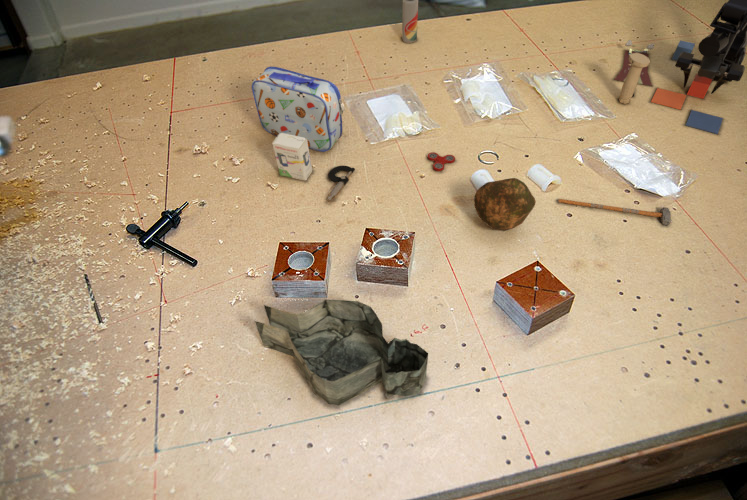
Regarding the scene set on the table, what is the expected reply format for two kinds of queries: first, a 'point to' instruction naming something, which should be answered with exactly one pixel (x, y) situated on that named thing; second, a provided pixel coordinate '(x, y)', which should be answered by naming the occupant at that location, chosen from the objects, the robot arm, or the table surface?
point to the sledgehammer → (627, 210)
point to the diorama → (626, 65)
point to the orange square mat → (668, 98)
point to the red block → (699, 86)
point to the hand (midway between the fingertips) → (697, 90)
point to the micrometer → (338, 180)
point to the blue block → (683, 49)
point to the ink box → (292, 156)
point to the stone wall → (345, 350)
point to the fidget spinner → (440, 160)
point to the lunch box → (299, 106)
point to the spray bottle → (409, 20)
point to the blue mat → (704, 122)
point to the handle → (633, 76)
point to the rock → (504, 203)
